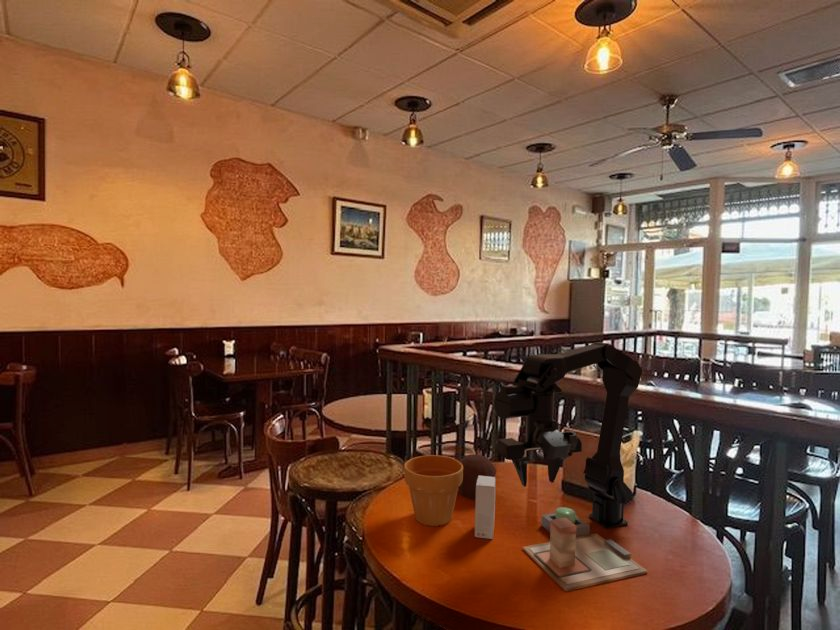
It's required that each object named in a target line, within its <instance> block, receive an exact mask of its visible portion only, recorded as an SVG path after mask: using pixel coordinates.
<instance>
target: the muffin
mask: <svg viewBox="0 0 840 630" xmlns="http://www.w3.org/2000/svg"><path fill="white" fill-rule="evenodd" d="M458 461H459V462H461V464H462V465H463V481H462V484H461V485H460V486H459V487H458V494H460V495H461V496H462V497H463V498H467V499H468V500H469V499H470V500H473V501H474V500H476V483H477V479H478V476H479V475H480V476H489V477H495V476H496V474H497V472H498V471H497V468H496V467H495V466H494V464H493V462H492V461H491V460H490V459H488V458H487V457H485V456H484V455H482V454H474V453H473V454H468V455H465V456H464V457H462V458H461V459H460V460H458ZM495 478H496V477H495Z"/></svg>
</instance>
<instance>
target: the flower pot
mask: <svg viewBox="0 0 840 630" xmlns="http://www.w3.org/2000/svg"><path fill="white" fill-rule="evenodd" d="M459 461H460V460H458V459H456V458H453V457H450V456H446V455H439V454H438V455H436V454H432V455H431V454H428V455H420V456H416V457H412V458H410V459H409V460H407V461H406V462H405V463H404V466H403V467H404V468H403V469H404V470H403V471H404V472H403V474H404V475H403V476H404V482H405V484H406V485H407V487H408V489H409V494H410V500H411V504H412V510H413V513H414V517H415V520H416V521H417V523H421V524H422V525H425V526H428V525H429V527H430V526H431V527H439V525H440V526H443V525H446V524H448V523H449V522H451V520H452V517H453V513H454V509H455V504H456V499H457V495H458V492H459V490H458V487H459V486H460V485H461V484H462V481H463V465H462V464H461V462H459Z"/></svg>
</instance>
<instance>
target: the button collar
mask: <svg viewBox="0 0 840 630" xmlns="http://www.w3.org/2000/svg"><path fill="white" fill-rule="evenodd" d="M555 516H556V512H553V513H546V514H541V526H542V527H543V528H544V529H545V530H546V531H547V532H549V533H550V520H554V519H555ZM575 525H576V537H580V536H585V535H591V534H590V532H591V529H590V527H591V526H590V525H589V523H587V522H585V520H583V519H581V518H580V517H579V516H577V515H576V517H575Z"/></svg>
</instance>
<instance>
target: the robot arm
mask: <svg viewBox="0 0 840 630" xmlns="http://www.w3.org/2000/svg"><path fill="white" fill-rule="evenodd" d="M592 365H596V367H597V368H598V369H599V370H600V371H602V373H601V374H602V377H601V379H602V381H601V382H602V384H603V387H604V388H605V389H604V390H605V391H606V397H605V402H604V407H603V415H602V419H601V427H600V432H599V437H598V444H597V448H596V449H597V450H596V452H595V453H594V454H593V455H592V457H589V456H587V458H586V459H585V468H584V469H583V474H584V481H585V482H586V484H587V489H588V491H589V492H592V493H594V494H593V501H592V510H591V511H592V513H589V514H588V517H589V518H591V519H592V520H593V521H595V522H597V524H599V525H601V526H602V527H604V528H606V529H610V528H617V527H621V526H628V525H629V522H628V521H627V520H625V518H624V511H625V510H624V509H625V507H624V505H627V504H628V502H630V501H631V500H632V499H631V498H632V496H633V491H632V490H631V489H630V488H629V486H628V485H627V484H626V483H625V482H624V479H625V477H624V476H625V475H624V474H625V469H624V467H623V465H622V461H621V458H620V453H621V447H622V442H623V441H622V440H623V435H624V429H625V423H626V418H627V411H628V407H629V406H628V404H629V401H630V400H629V399H630V397H631V396H632V394H633V393H635V391H636V390H637V389H638V388H639V384H640V381H641V378H642V373H643V370H642V366H641V365H640V363H639V362H638V361H637V360H635V359H633V358H632V357H630V356H629V355H627V354H625V353H624V352H622V351H620V350H618V348H616V347H615V346H614V345H613V344H612V343H608V342H599V341H594V342H592V343H591V344H588V345H585V346H581V347H577V348H574V349H571V350H567V351H563V352H560V353H556V354H551V353H549V354H547V353H545V354H544V353H543V354H542V353H541V354H539V353H538V354H530V355H528V356H527V357H526V358H525V361H524V362H523V365H522V366H521V368H520V370H519V371H518V373H517V374H516V376H515V378H514V380H513V381H512V385H507V384H505V385H501V386H500V391H498V392H497V393H496V395H495V399H493V407H494V410H495V413H496V415H497V416H498V418H500V419H501V420H509V419H515V418H522V420H523V421H524V422H525V433H522V439H523V440H524V441H522V442H520V441H517V440H516V439H514V438H513V437H509V438H499V439H498V440H496V442H495V443H494V452H495V453H497V454H498V455H499V456H501V457H502V458H504V459H506V460H507V461H511V463H512V464H513V465H514V468H515V470H516V472H517V475H518V478H519V482H520V483H521V485H522V486H523V487H524V488H525V487H527V483H528V463H530V461H531V459H530V458H529V457H527V452H530V451H531V452H532V451H541V450H542V451H543V453H544V454H545V456H546V457H547V458H546V459H547V475H548V481H549V482H550V483H551V484H552V483H554V482H555V480H556V477H557V475H558V473H559V470H560V468H561V466H562V464H563V462H564V460H566V459H567V458H570V457H572V456H573V454H574V453H582V451H583V442H582V440H581V439H580V437H579V436H578V435H577V434H576V432H575V431H573V430H571V431H559V428H558V421H557V420H555V419H554V408H555V406H554V405H555V394H559V393H562V392H563V389H562V388H561V387H559V385H557V383H558V382H559V381H561V380H563V379H564V378H565V377H566V375H567V374H568V373H570V372H573V371H577V370H580V369H583V368H586V367H589V366H592Z"/></svg>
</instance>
